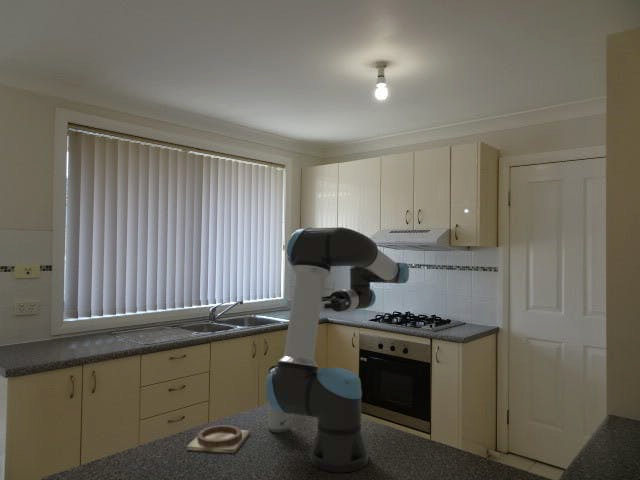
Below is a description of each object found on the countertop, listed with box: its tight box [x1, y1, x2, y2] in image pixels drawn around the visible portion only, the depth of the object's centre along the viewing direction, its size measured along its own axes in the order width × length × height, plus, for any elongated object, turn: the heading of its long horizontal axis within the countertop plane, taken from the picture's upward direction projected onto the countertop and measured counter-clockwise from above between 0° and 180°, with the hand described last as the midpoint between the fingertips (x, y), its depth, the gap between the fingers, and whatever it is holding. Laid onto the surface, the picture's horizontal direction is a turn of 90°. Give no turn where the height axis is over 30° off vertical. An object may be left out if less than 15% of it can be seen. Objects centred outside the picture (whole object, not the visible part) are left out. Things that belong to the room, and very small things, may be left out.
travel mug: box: [268, 365, 290, 434], centre depth 148 cm, size 6×7×20 cm
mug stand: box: [186, 424, 251, 454], centre depth 138 cm, size 14×14×2 cm
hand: (301, 305), depth 155 cm, fingers open, 13 cm apart
